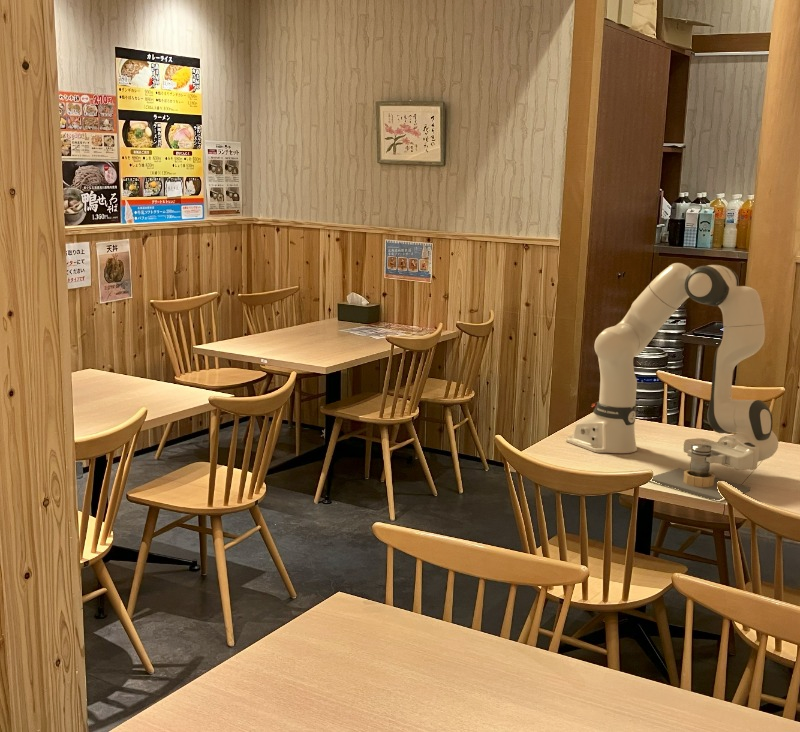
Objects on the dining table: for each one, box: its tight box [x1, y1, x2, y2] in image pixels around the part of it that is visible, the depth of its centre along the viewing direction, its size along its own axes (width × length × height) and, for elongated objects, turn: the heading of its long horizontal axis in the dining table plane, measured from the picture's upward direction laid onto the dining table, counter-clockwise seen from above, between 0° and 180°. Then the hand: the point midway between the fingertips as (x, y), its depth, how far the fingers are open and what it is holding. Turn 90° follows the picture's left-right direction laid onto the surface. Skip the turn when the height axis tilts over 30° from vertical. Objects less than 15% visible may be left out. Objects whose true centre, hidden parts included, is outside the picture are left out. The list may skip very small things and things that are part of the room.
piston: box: [689, 444, 711, 477], centre depth 265 cm, size 5×5×10 cm
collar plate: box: [652, 467, 751, 500], centre depth 266 cm, size 22×16×4 cm
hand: (698, 456), depth 264 cm, fingers closed on piston, 5 cm apart
